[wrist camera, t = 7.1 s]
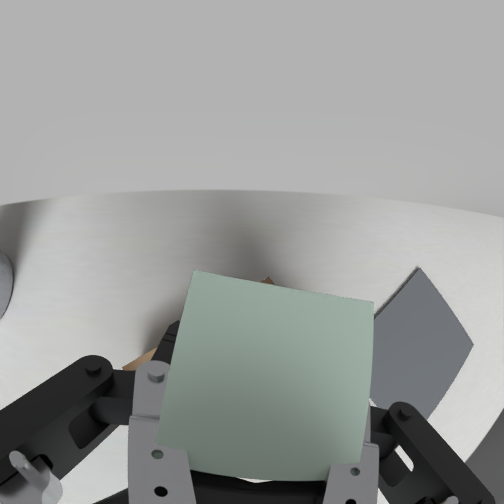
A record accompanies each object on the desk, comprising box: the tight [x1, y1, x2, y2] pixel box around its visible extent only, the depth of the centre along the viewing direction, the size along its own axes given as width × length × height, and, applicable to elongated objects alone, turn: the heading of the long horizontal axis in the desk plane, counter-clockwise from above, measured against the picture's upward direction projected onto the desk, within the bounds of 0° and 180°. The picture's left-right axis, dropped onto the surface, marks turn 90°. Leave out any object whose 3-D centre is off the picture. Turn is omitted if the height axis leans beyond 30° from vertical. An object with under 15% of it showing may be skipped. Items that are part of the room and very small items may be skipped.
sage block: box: [153, 270, 374, 481], centre depth 10 cm, size 4×4×11 cm
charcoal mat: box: [369, 268, 474, 420], centre depth 21 cm, size 14×12×1 cm
